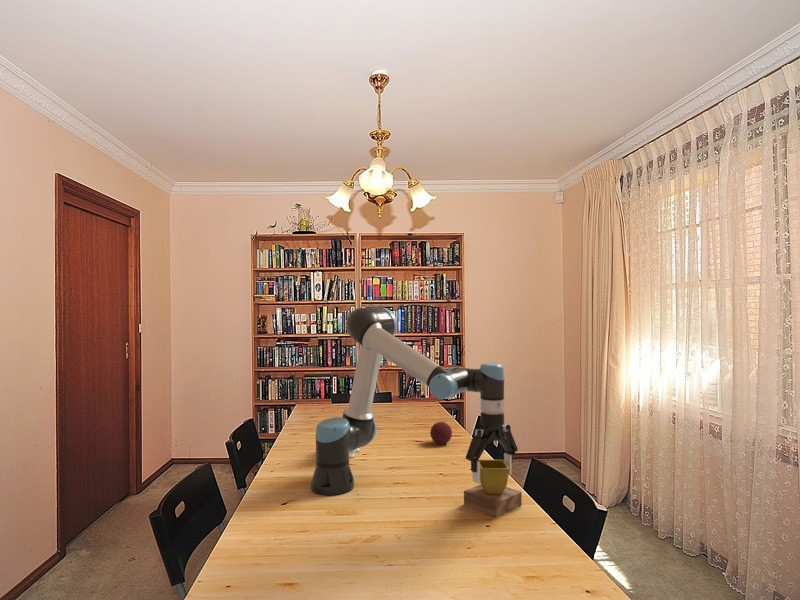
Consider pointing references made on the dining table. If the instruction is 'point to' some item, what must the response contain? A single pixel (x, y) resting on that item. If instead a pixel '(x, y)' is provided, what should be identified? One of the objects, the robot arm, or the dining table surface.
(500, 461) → the flower pot
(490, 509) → the walnut block
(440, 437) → the decorative ball
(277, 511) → the dining table surface
